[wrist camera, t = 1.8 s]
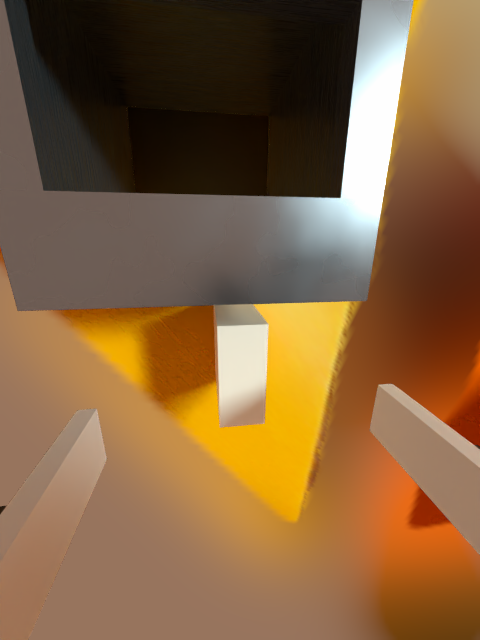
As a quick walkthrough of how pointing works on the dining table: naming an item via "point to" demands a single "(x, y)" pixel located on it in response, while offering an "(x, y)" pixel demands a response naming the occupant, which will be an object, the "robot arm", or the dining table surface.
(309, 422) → the dining table surface
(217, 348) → the white rectangular block
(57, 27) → the grey open box
